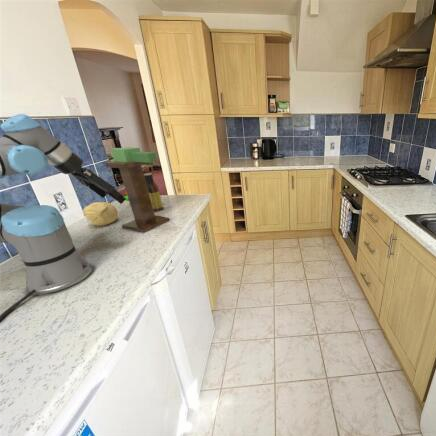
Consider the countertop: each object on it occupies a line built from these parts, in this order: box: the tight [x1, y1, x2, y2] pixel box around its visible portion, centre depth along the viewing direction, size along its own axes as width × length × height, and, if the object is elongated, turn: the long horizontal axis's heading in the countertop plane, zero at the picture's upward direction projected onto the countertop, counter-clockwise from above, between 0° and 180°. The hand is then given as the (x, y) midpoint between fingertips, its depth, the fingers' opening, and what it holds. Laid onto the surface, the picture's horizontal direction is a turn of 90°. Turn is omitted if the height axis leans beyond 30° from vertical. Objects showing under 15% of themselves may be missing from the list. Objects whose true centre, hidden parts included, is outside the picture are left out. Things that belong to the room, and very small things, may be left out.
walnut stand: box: [105, 160, 170, 233], centre depth 109 cm, size 14×14×30 cm
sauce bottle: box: [143, 172, 164, 212], centre depth 129 cm, size 6×6×20 cm
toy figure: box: [110, 146, 158, 164], centre depth 101 cm, size 7×23×5 cm, turn 68°
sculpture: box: [82, 201, 119, 227], centre depth 116 cm, size 12×12×11 cm
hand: (114, 198), depth 100 cm, fingers open, 13 cm apart
